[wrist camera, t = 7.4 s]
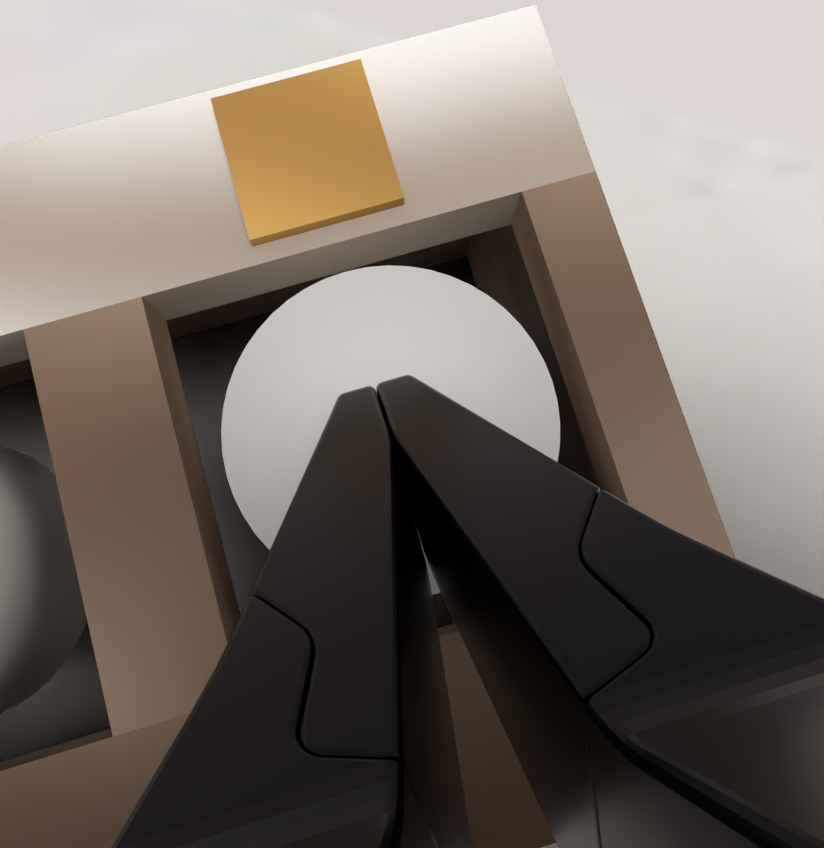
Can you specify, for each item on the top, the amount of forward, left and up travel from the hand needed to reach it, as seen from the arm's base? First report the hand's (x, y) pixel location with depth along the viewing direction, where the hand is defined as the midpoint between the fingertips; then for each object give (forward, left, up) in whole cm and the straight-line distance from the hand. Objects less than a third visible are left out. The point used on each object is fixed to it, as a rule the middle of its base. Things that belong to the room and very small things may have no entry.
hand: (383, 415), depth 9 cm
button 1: (0, 0, -5) cm, 5 cm away
